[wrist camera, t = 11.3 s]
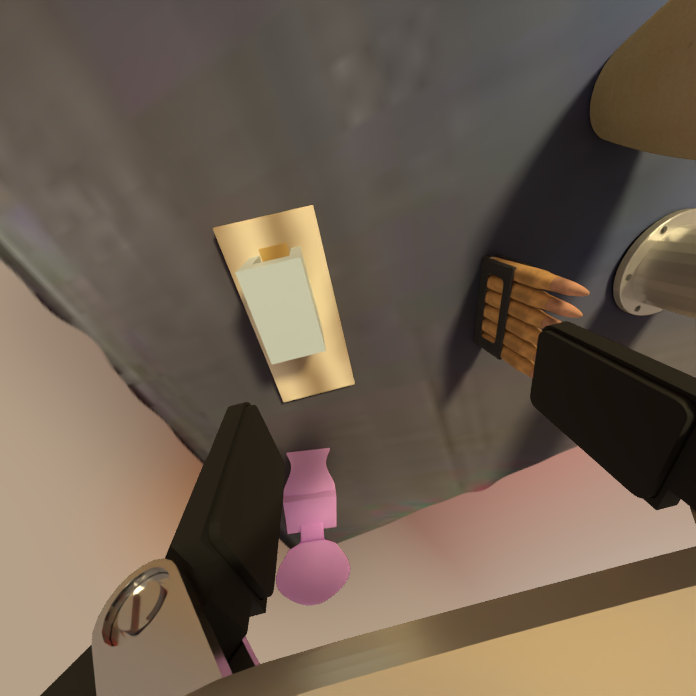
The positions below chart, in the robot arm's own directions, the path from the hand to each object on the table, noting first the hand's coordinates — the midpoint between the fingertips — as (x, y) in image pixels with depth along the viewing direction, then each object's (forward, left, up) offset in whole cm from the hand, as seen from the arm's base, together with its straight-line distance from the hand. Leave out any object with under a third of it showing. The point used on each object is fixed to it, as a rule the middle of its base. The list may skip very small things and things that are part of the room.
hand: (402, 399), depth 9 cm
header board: (+5, +4, -22) cm, 23 cm away
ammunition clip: (-17, +8, -22) cm, 29 cm away
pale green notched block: (+5, +1, -21) cm, 21 cm away
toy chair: (+10, +28, -22) cm, 37 cm away
